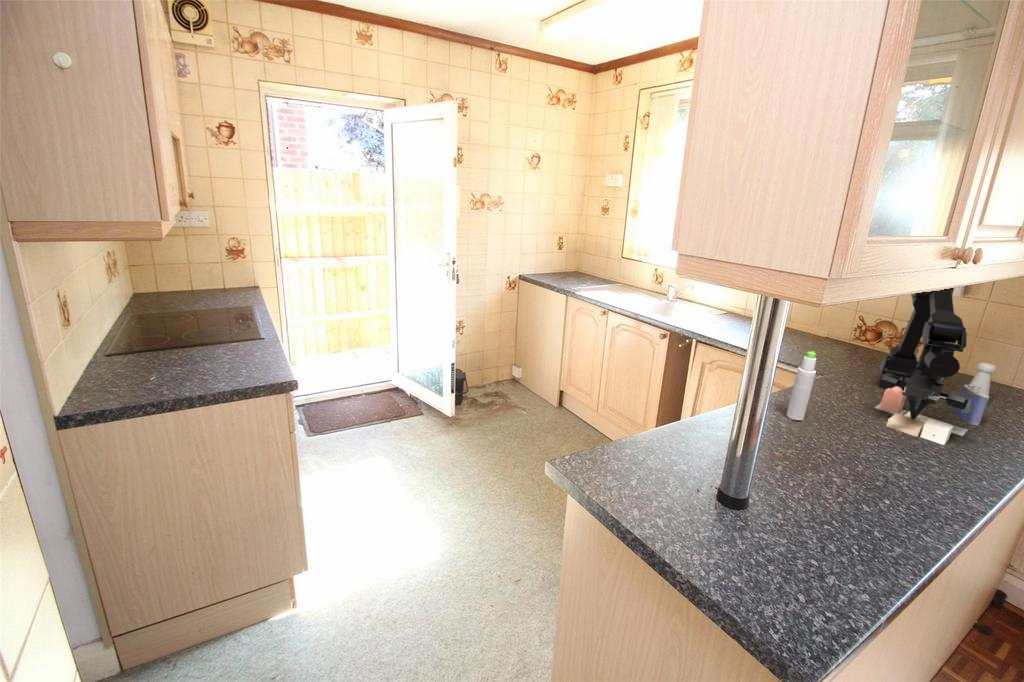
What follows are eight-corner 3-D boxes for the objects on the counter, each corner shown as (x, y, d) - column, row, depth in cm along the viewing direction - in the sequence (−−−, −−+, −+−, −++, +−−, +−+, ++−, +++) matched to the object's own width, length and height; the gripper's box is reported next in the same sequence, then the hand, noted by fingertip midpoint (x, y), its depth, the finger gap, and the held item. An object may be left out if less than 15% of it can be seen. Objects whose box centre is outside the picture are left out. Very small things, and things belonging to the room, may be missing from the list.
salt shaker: (976, 398, 161) (990, 361, 157) (990, 405, 155) (1005, 368, 151) (957, 396, 161) (971, 360, 157) (971, 403, 156) (986, 366, 152)
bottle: (806, 420, 137) (824, 354, 130) (796, 423, 135) (814, 356, 128) (791, 413, 140) (808, 349, 134) (782, 416, 138) (798, 351, 132)
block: (885, 428, 134) (888, 419, 133) (893, 422, 139) (896, 413, 138) (916, 439, 129) (919, 429, 128) (923, 432, 133) (926, 422, 132)
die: (924, 422, 128) (949, 430, 124) (929, 418, 131) (953, 425, 127) (919, 439, 129) (943, 447, 125) (923, 434, 132) (947, 442, 129)
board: (871, 410, 146) (872, 408, 145) (881, 403, 151) (881, 401, 151) (961, 440, 130) (962, 437, 130) (968, 431, 136) (969, 429, 135)
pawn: (879, 408, 146) (886, 385, 144) (884, 404, 149) (891, 382, 146) (897, 413, 143) (904, 390, 140) (901, 410, 145) (909, 387, 143)
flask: (980, 428, 138) (995, 391, 135) (967, 426, 139) (981, 389, 135) (960, 413, 147) (973, 379, 144) (948, 412, 148) (960, 377, 145)
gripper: (879, 360, 129) (863, 412, 134) (971, 383, 115) (949, 441, 120) (892, 353, 136) (876, 403, 141) (980, 375, 122) (959, 429, 127)
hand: (913, 418), depth 132 cm, fingers closed
